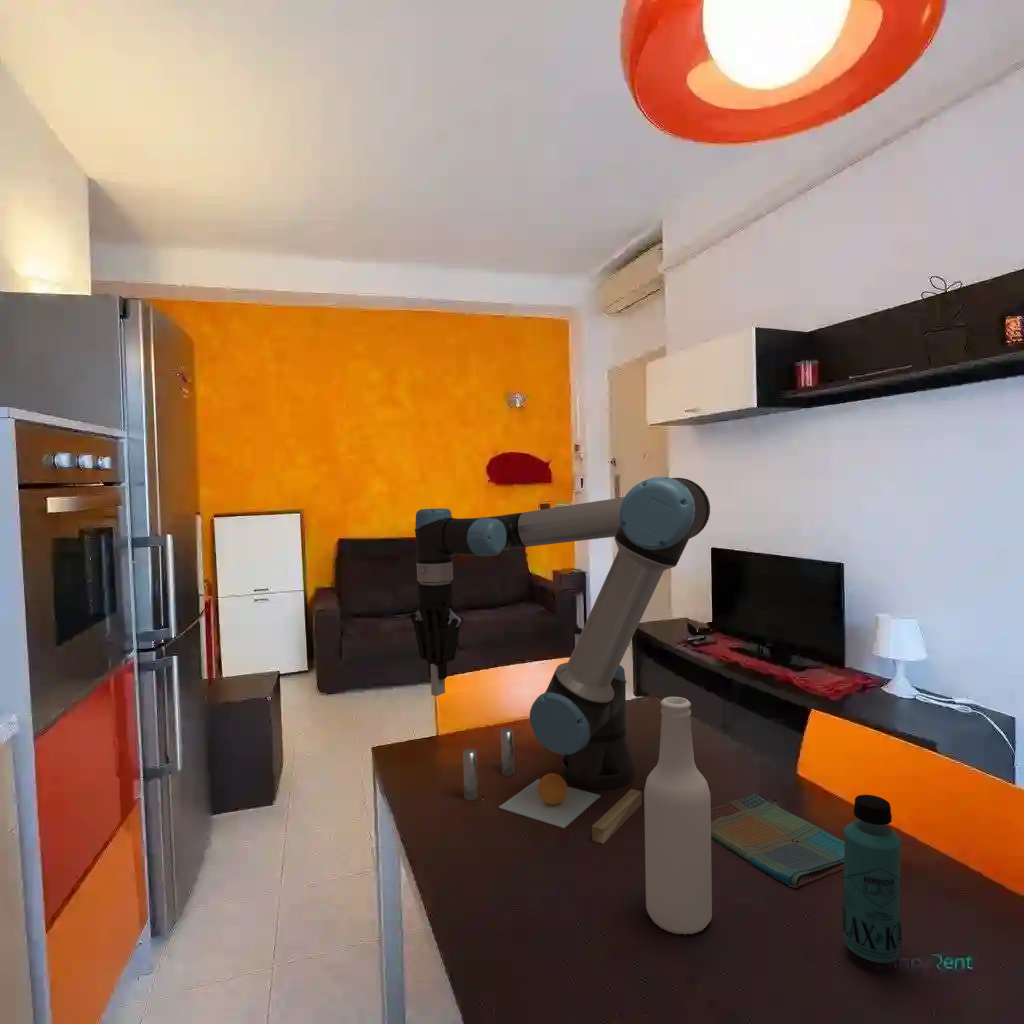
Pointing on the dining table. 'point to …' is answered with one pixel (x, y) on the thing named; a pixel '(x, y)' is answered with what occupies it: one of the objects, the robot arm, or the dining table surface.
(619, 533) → the robot arm
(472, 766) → the post left
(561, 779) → the ball
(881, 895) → the beverage bottle
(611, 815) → the wall
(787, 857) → the dish towel
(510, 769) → the post right
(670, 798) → the alcohol
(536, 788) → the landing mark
